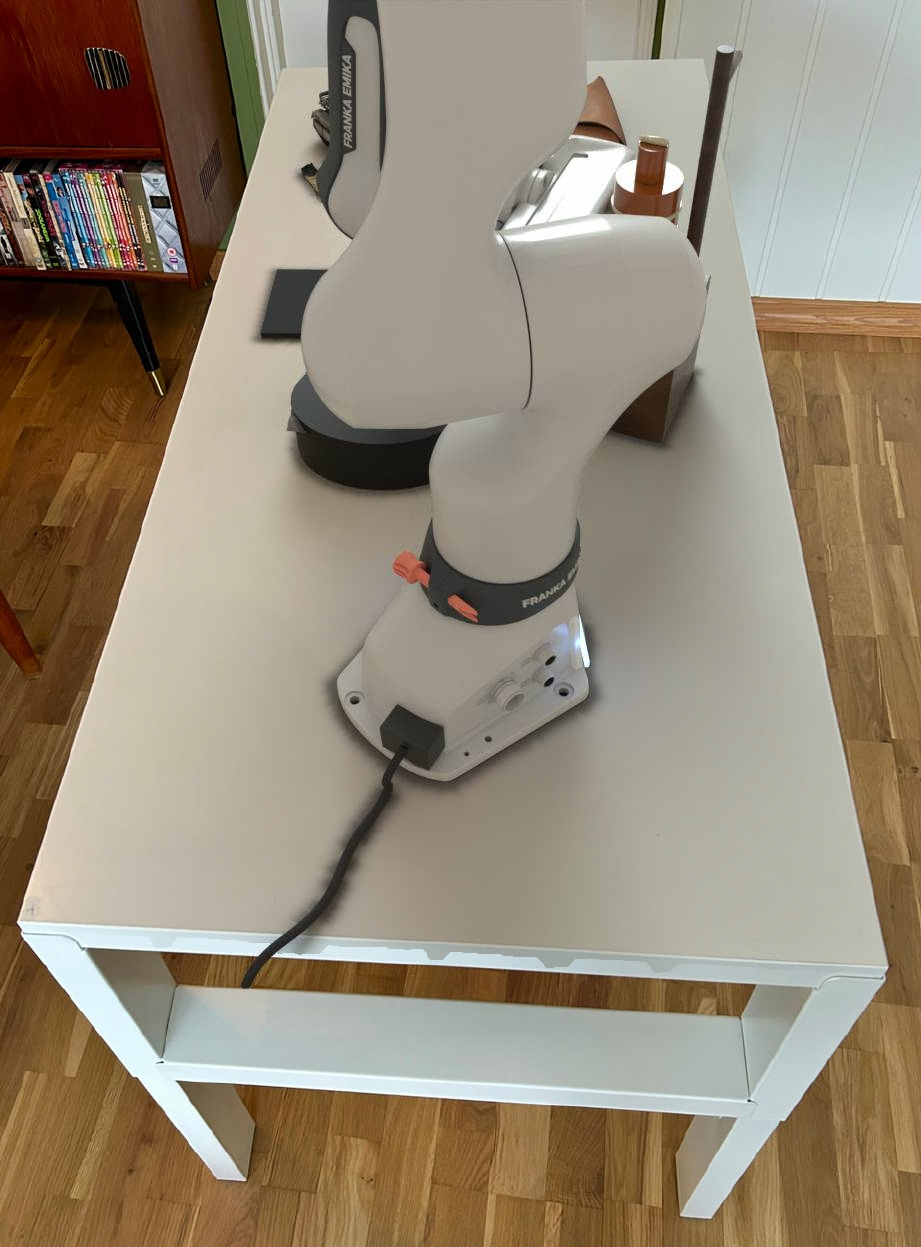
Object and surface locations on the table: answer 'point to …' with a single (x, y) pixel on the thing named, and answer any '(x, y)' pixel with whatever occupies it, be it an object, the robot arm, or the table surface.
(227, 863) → the table surface
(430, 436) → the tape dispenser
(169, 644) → the table surface
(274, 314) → the rubber mat
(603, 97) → the sunglasses case
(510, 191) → the robot arm
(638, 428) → the hanger rack
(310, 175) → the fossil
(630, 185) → the brown banded bottle
